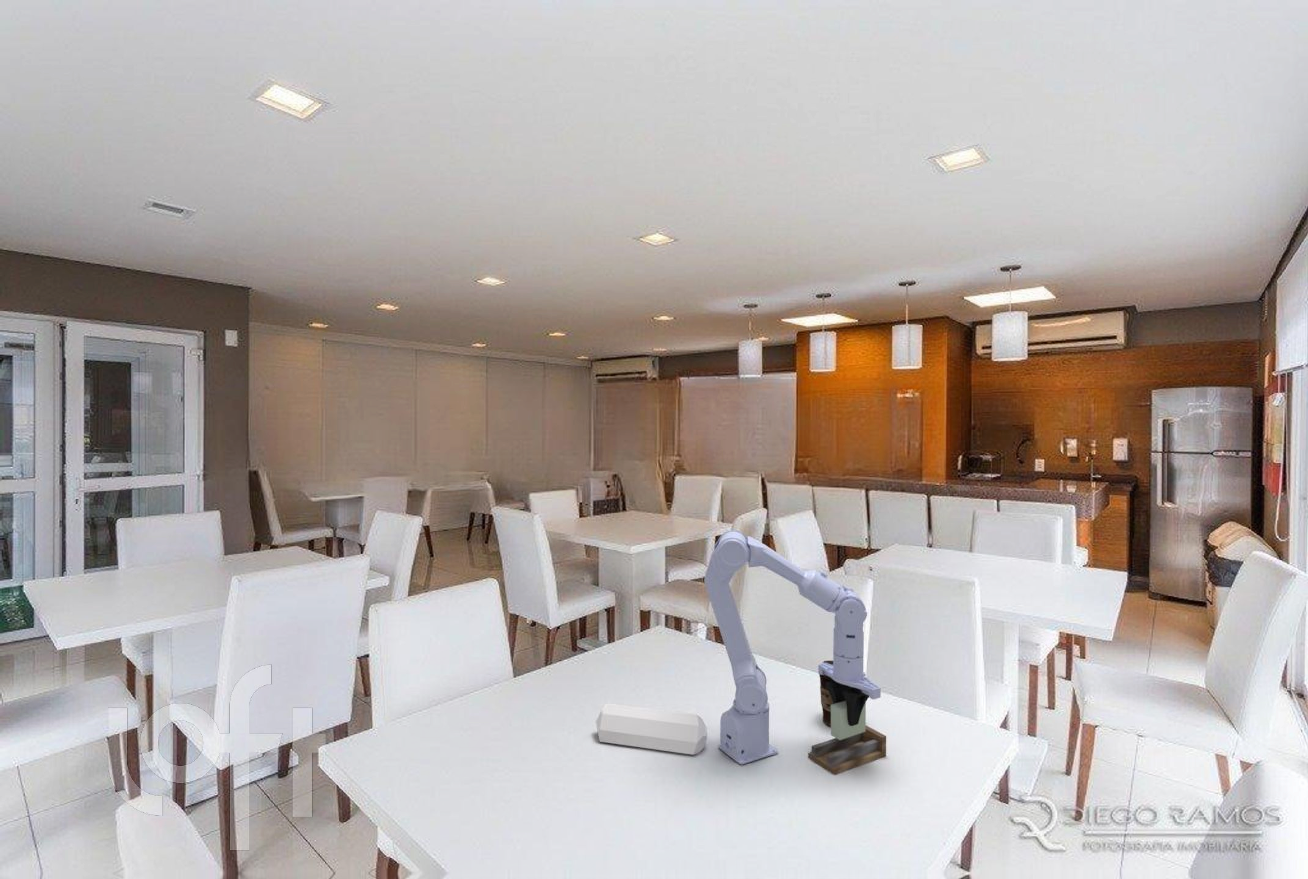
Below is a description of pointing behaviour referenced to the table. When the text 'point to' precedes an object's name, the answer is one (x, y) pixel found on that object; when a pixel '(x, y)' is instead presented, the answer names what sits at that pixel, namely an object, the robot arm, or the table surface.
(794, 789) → the table surface
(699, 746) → the crystal
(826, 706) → the coffee cup
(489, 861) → the table surface
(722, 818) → the table surface
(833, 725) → the door panel
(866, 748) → the track sill
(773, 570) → the robot arm
